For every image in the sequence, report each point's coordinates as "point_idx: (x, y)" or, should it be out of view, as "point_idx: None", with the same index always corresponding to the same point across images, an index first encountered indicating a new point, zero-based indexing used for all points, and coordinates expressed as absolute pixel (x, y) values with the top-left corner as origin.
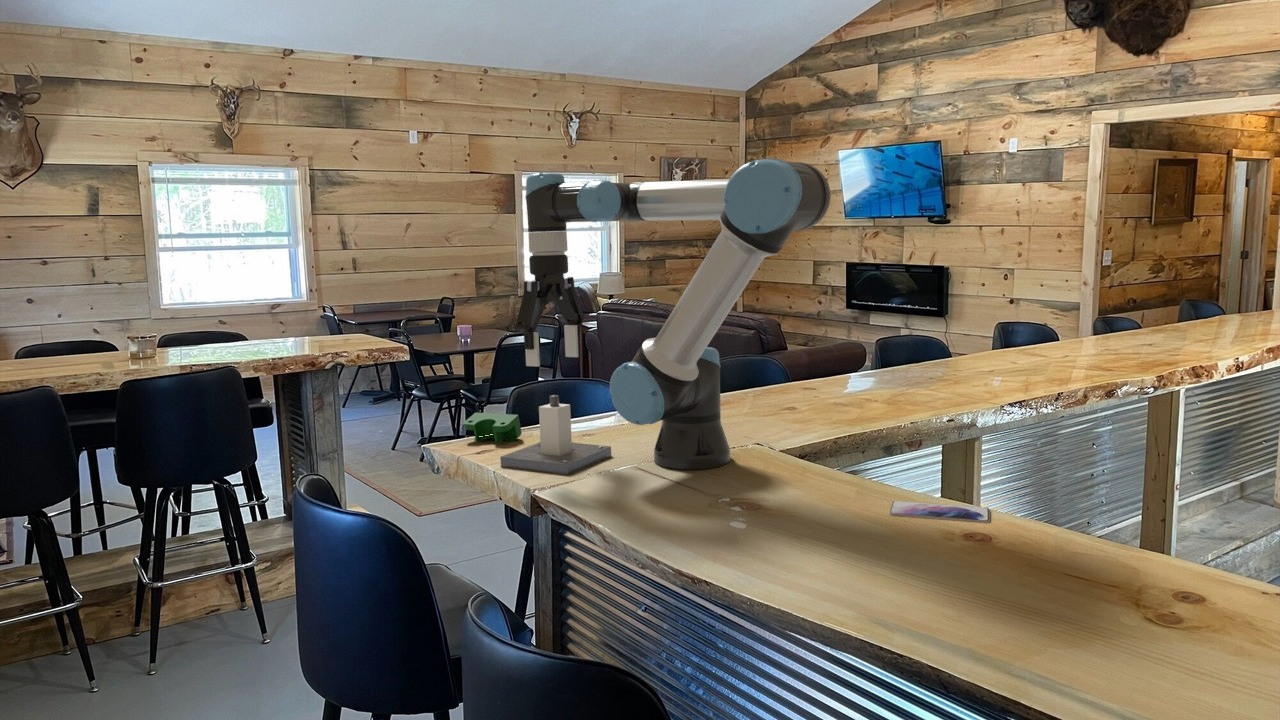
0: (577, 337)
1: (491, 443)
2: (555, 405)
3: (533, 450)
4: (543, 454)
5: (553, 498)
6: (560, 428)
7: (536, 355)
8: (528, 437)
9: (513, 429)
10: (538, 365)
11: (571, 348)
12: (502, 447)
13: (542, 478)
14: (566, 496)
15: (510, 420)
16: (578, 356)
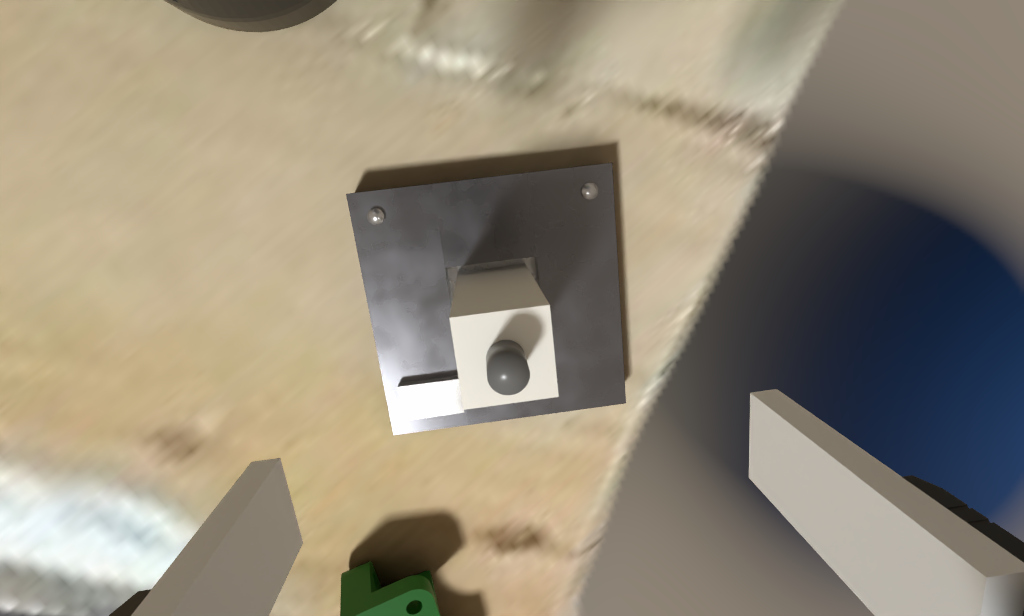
0: (161, 581)
1: None
2: (517, 344)
3: None
4: None
5: (820, 30)
6: (523, 287)
7: (830, 432)
8: (318, 561)
9: (372, 587)
10: (768, 394)
11: (262, 542)
12: (451, 535)
13: (665, 204)
14: (791, 8)
15: (386, 606)
16: (250, 463)
